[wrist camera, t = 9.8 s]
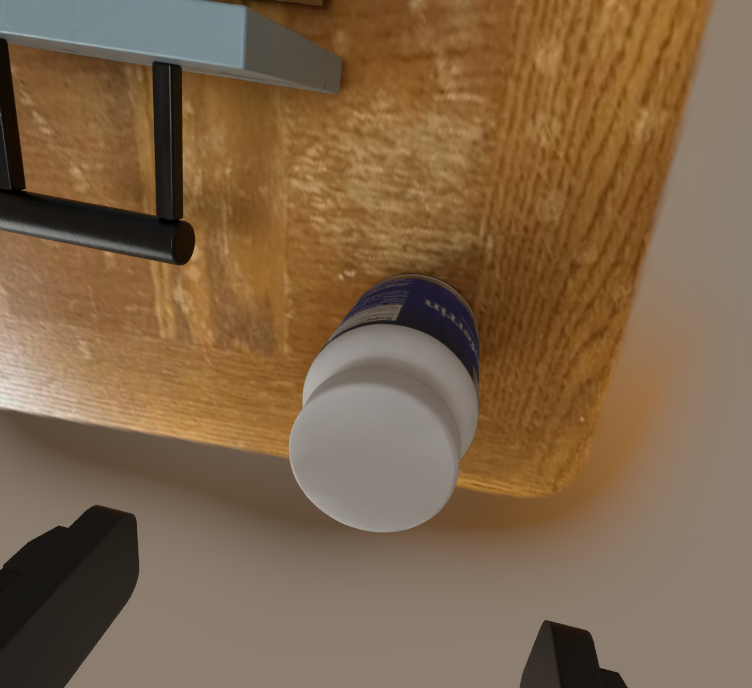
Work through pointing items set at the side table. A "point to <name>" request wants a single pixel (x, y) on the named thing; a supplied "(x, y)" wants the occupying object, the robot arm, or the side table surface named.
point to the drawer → (168, 59)
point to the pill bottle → (390, 406)
